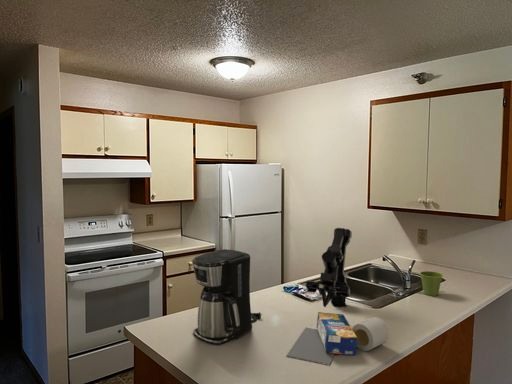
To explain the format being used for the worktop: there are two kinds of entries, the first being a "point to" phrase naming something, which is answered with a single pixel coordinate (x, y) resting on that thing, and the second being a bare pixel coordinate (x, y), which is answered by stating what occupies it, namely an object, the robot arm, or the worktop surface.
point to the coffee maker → (223, 296)
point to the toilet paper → (370, 333)
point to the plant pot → (431, 282)
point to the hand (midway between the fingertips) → (324, 306)
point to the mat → (310, 347)
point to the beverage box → (336, 334)
